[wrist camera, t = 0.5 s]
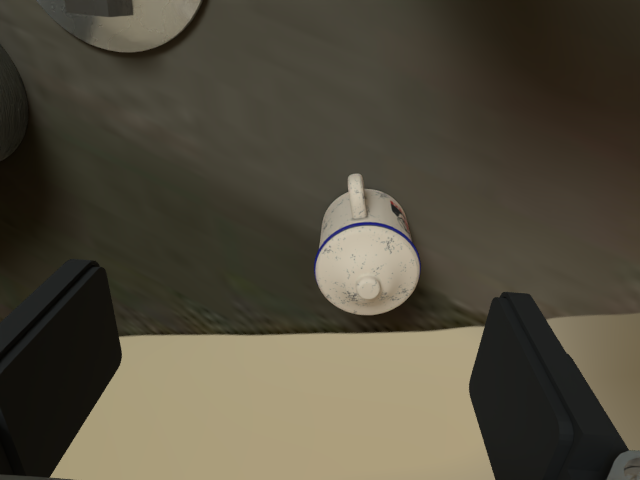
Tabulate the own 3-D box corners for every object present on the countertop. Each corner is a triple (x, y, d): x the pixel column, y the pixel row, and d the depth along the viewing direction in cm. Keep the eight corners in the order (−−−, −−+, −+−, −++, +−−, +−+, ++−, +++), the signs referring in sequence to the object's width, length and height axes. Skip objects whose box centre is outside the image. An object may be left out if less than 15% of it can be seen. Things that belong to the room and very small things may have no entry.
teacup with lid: (412, 259, 48) (430, 330, 38) (327, 270, 49) (322, 341, 39) (402, 149, 43) (418, 197, 33) (307, 164, 44) (293, 214, 34)
